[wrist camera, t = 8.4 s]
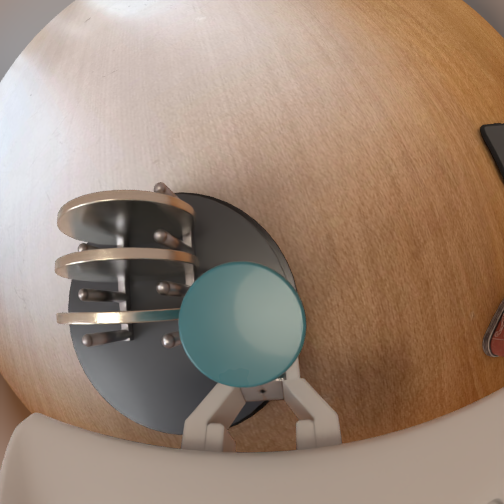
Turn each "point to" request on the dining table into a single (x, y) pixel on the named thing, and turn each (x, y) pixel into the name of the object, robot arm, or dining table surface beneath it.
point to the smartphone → (495, 142)
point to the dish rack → (174, 302)
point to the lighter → (495, 334)
